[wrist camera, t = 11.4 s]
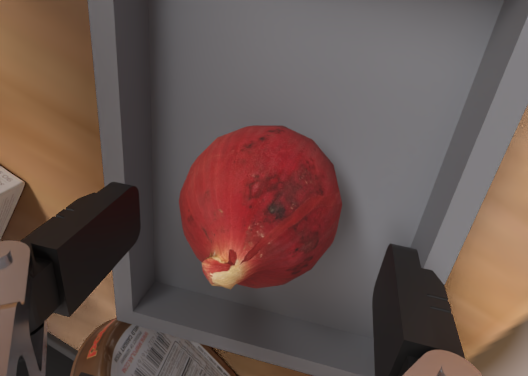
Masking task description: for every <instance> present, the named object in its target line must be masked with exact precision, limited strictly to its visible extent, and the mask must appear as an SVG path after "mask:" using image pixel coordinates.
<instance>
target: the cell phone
mask: <svg viewBox="0 0 528 376" xmlns="http://www.w3.org/2000/svg"><path fill="white" fill-rule="evenodd" d="M77 353H78V351H77V350H75V349H74V348H72V347H71V346H69V345H67V344H66V343H64V342H63V341H61V340H60V339H58V338H56V337H55V336H53V335H52V334H50V333H49V332H47V352H46V373H45V376H70V374H71V369H72V366H73V362H74V360H75V357H76V355H77Z"/></svg>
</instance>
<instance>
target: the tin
mask: <svg viewBox="0 0 528 376" xmlns="http://www.w3.org/2000/svg"><path fill="white" fill-rule="evenodd" d="M81 372H84V373H87V374H90V375H94V376H237V375H236V374H235V373H234V372H233V371H232V370H231V369H230V368H229V367H228V366H227V364H226V363H225V362H224V361H223V360H222V359H221V358H220V357H219V356H218V355H217V354H216V353H215V352H214V351H213V350H212V349H211V347H210V346H207V345H203V344H200V343H196V342H192V341H189V340H185V339H182V338H178V337H175V336H171V335H168V334H164V333H161V332H157V331H154V330H150V329H146V328H143V327H139V326H136V325H132V324H129V323H125V322H122V321H118V320H117V318H115V319H112V320H110V321H108V322H106V323H104V324H102V325H101V326H99V327H98V328H96V329H95V330H94V331H93V332H92V333H91V334H90V335H89V336H88V337H87V339H86V340H85V341H84V343H83V344H82V346H81V347H80V349H79V351H78V353H77V355H76V357H75V360H74V362H73V366H72V369H71V374H70V376H79V374H80V373H81Z"/></svg>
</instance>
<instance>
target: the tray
mask: <svg viewBox="0 0 528 376" xmlns="http://www.w3.org/2000/svg"><path fill="white" fill-rule="evenodd" d="M88 10H89V21H90V32H91V42H92V53H93V64H94V75H95V86H96V97H97V108H98V119H99V130H100V141H101V152H102V163H103V174H104V184H105V186H107V185H108V184H109V183H111V182H118V183H123V184H128V185H132V186H136V187H137V188H138V191H139V202H140V222H141V229H140V234H139V237H138V240H137V241H136V243H135V244H134V246H133V247H132V248H131V249H130V250H129V251H128V252H127V253H126V255H125V256H124V257H123V258H122V259H121V260H120V261H119V262H118V263H117V265H116V266H115V267H114V268H113V269H112V272H113V283H114V294H115V305H116V316H117V320H118V321H122V322H125V323H129V324H132V325H136V326H139V327H143V328H146V329H150V330H154V331H157V332H161V333H164V334H168V335H171V336H175V337H178V338H182V339H185V340H189V341H192V342H196V343H200V344H203V345H207V346H210V347H214V348H217V349H221V350H224V351H228V352H231V353H235V354H238V355H242V356H245V357H249V358H253V359H256V360H260V361H263V362H267V363H270V364H274V365H277V366H281V367H284V368H288V369H291V370H295V371H299V372H302V373H306V374H309V375H313V376H375V364H374V338H373V312H372V298H373V291H374V286H375V283H376V280H377V277H378V274H379V271H380V268H381V265H382V262H383V259H384V256H385V253H386V250H387V248H388V246H389V244H390V243H391V244H396V245H400V246H405V247H409V248H414V249H417V251H418V255H419V260H420V264H421V268H424V269H429V270H433V271H434V273H435V274H436V275H437V277H438V278H439V279H440V280H441V282H442V283H443V284H444V285H445V283H446V281H447V278H448V276H449V274H450V272H451V270H452V268H453V265H454V263H455V261H456V259H457V257H458V254H459V252H460V250H461V248H462V246H463V244H464V241H465V239H466V237H467V235H468V233H469V231H470V228H471V226H472V224H473V222H474V220H475V218H476V215H477V213H478V211H479V209H480V207H481V204H482V202H483V200H484V198H485V196H486V194H487V191H488V189H489V187H490V185H491V183H492V181H493V178H494V176H495V174H496V172H497V170H498V168H499V165H500V163H501V161H502V159H503V157H504V154H505V152H506V150H507V148H508V146H509V144H510V141H511V139H512V137H513V135H514V133H515V131H516V128H517V126H518V124H519V122H520V120H521V117H522V115H523V113H524V111H525V109H526V107H527V104H528V0H88ZM253 125H260V126H285V127H287V128H289V129H291V130H293V131H295V132H298V133H300V134H302V135H304V136H306V137H308V138H310V139H312V140H313V141H314V142H315V143H316V144H317V145H318V147H319V148H320V149H321V150H322V151H323V153H324V154H325V155H326V156H327V157H328V159H329V160H330V161H331V162H332V163H333V165H334V169H335V173H336V178H337V182H338V187H339V191H340V196H341V200H342V209H341V213H340V218H339V223H338V228H337V232H336V235H335V238H334V241H333V243H332V244H331V246H330V247H329V248H328V249H327V251H326V252H325V253H324V254H323V255H322V257H321V258H320V259H319V260H318V261H317V263H316V264H315V265H314V267H313V268H312V269H311V270H309V271H308V272H306V273H304V274H302V275H300V276H299V277H297V278H295V279H293V280H291V281H290V282H288V283H286V284H284V285H279V286H272V287H265V288H257V289H256V288H251V287H247V286H242V285H238V284H236V285H234V286H233V288H232V289H231V290H230V289H227V288H224V287H221V286H212V285H211V284H210V282H209V281H208V280H207V278H206V276H205V275H204V273H203V270H202V262H201V261H200V260H199V259H198V258H197V257H196V255H195V254H194V252H193V250H192V248H191V246H190V244H189V243H188V241H187V239H186V237H185V235H184V232H183V228H182V221H181V214H180V207H179V197H180V191H181V189H182V187H183V184H184V182H185V180H186V177H187V175H188V172H189V170H190V168H191V166H192V164H193V163H194V161H195V160H196V159H197V157H198V156H199V155H200V154H201V153H202V152H203V151H204V150H205V149H206V148H207V147H208V146H209V145H210V144H211V143H212V142H213V141H214V140H215V139H216V138H217V137H220V136H223V135H225V134H228V133H230V132H233V131H236V130H238V129H241V128H244V127H247V126H253Z"/></svg>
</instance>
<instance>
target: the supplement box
mask: <svg viewBox="0 0 528 376" xmlns="http://www.w3.org/2000/svg"><path fill="white" fill-rule="evenodd" d="M24 185H25V182H24V181H22V180H20V179H19V178H18V177H16V176H14V175H13V174H11V173H10V172H8V171H7V170H6V169H4V168H3V167H1V166H0V240H1V238H2V236H3V233H4V231H5V229H6V227H7V225H8V222H9V220H10V218H11V216H12V214H13V211H14V209H15V207H16V205H17V202H18V200H19V197H20V195H21V193H22V191H23V188H24Z"/></svg>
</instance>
